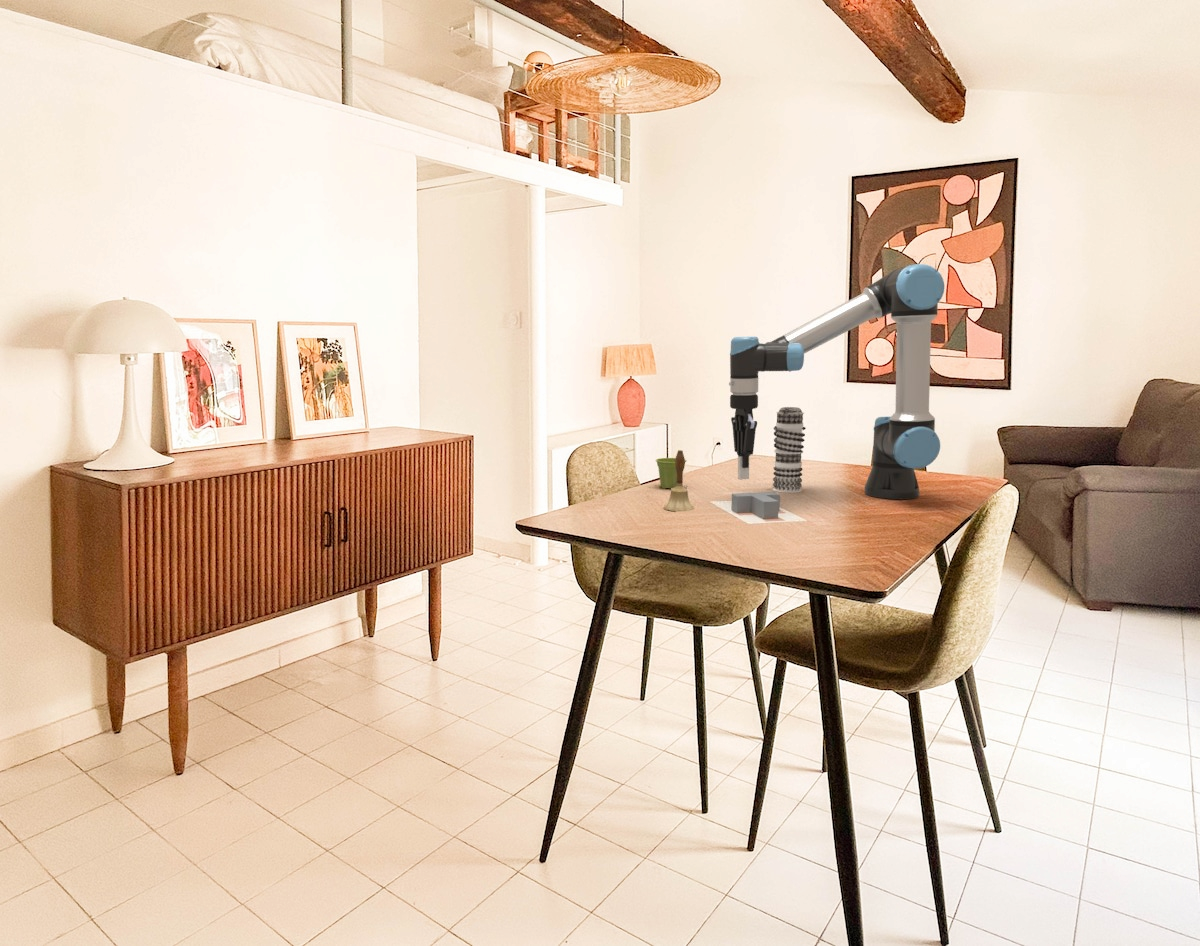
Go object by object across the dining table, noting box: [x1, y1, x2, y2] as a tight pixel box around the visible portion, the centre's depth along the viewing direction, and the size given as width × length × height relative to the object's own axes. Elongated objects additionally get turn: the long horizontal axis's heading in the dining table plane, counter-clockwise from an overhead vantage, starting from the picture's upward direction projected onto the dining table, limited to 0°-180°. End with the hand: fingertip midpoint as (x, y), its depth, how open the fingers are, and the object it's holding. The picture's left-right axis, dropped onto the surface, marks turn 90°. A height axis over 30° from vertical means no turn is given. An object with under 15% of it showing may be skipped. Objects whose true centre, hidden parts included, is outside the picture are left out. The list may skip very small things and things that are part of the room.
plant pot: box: [655, 457, 687, 489], centre depth 256 cm, size 9×9×9 cm
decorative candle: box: [772, 406, 807, 494], centre depth 250 cm, size 9×9×25 cm
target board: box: [710, 500, 808, 525], centre depth 222 cm, size 16×28×1 cm, turn 12°
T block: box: [731, 491, 781, 519], centre depth 218 cm, size 12×12×4 cm
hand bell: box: [663, 449, 695, 512], centre depth 225 cm, size 8×8×16 cm
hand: (743, 478), depth 231 cm, fingers closed
